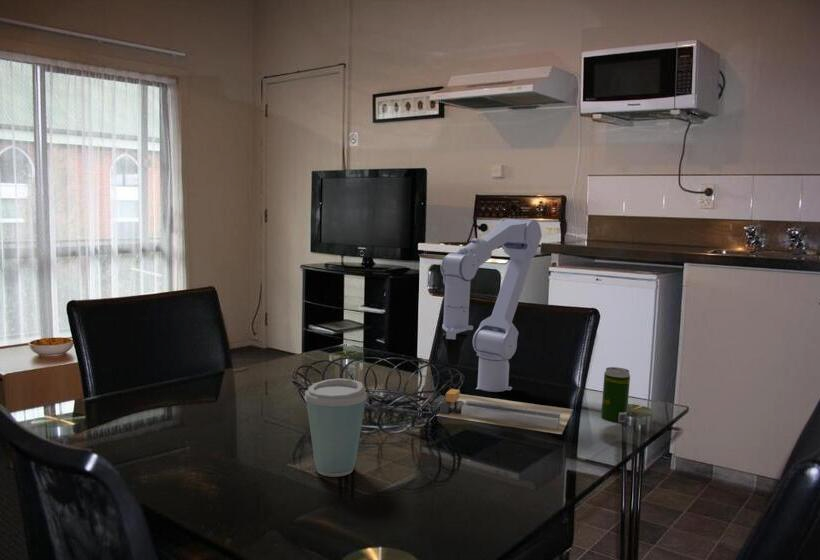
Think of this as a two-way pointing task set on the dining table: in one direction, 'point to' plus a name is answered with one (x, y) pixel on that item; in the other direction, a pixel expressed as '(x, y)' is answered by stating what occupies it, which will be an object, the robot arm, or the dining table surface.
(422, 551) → the dining table surface
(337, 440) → the disposable coffee cup
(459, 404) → the bar
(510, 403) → the board
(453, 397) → the block
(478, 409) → the tongs frame
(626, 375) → the beer can
